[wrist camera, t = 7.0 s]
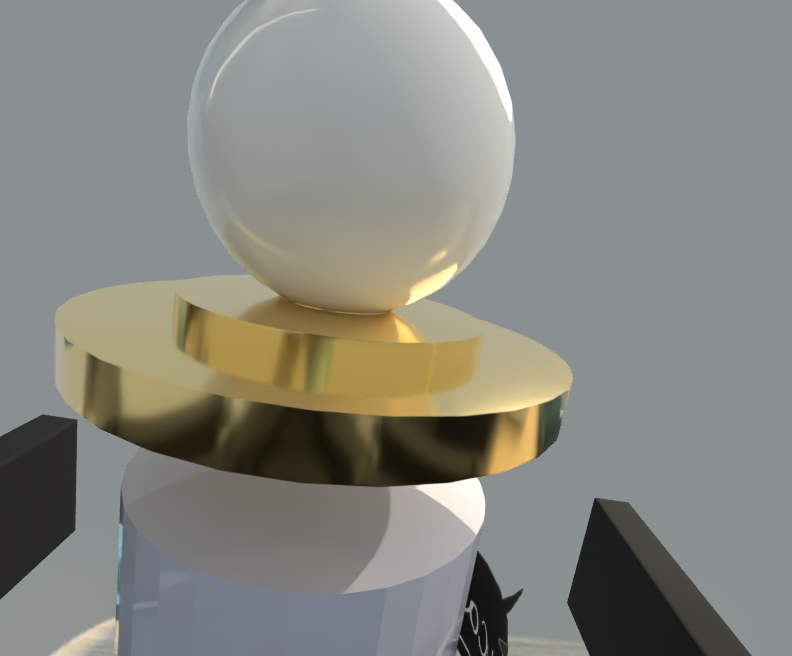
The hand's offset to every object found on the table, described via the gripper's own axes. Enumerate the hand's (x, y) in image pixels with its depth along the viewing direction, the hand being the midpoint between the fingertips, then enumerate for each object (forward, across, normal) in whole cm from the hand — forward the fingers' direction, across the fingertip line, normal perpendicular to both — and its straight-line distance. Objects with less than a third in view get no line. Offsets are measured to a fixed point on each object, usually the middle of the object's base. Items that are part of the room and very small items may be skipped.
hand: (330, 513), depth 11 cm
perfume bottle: (-4, 0, -11) cm, 12 cm away
